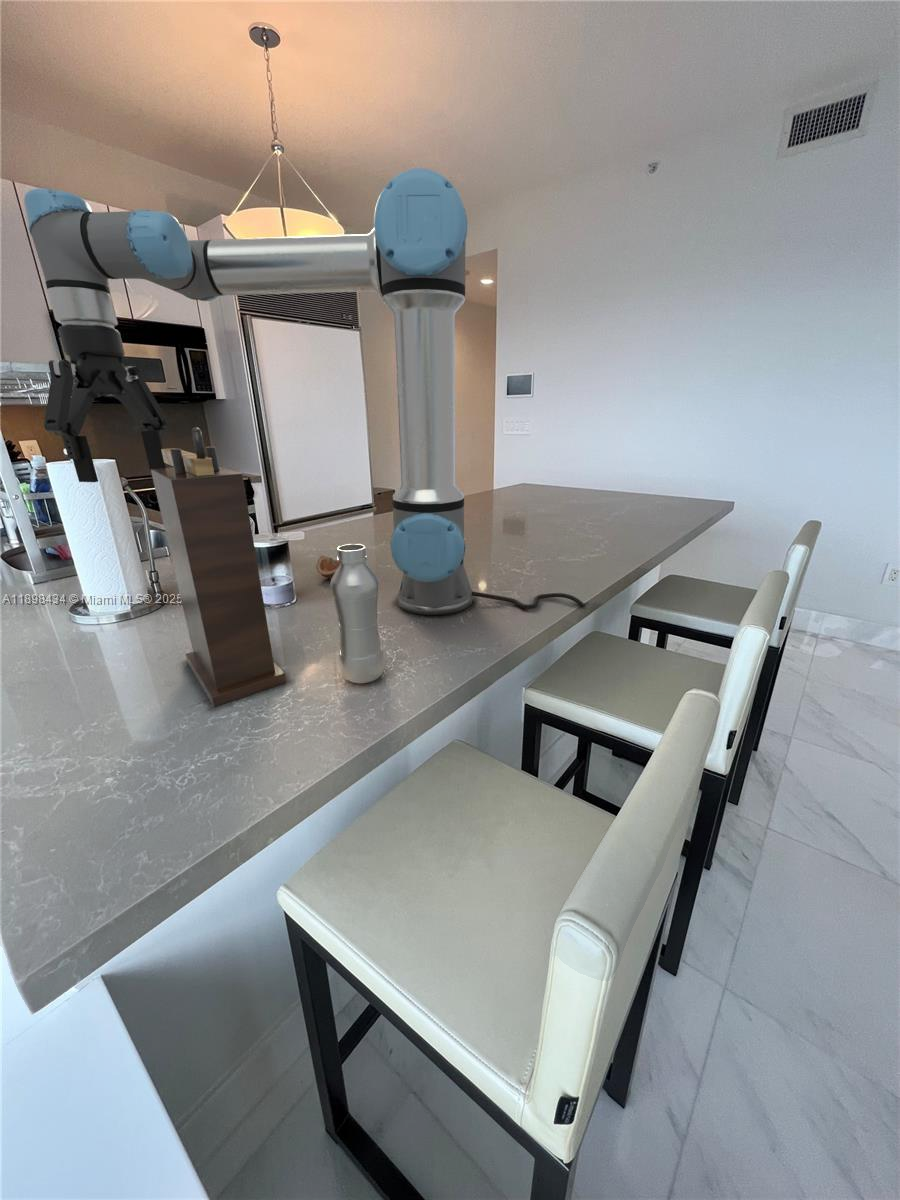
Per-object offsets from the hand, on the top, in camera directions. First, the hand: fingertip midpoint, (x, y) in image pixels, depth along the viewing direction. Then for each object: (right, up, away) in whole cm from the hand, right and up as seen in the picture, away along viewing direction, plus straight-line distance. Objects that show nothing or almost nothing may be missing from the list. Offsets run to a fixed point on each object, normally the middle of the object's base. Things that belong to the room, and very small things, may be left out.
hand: (126, 476), depth 79 cm
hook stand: (+20, -31, -4) cm, 37 cm away
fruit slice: (+25, -15, +36) cm, 46 cm away
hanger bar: (+16, -2, -12) cm, 21 cm away
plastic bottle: (+40, -32, -6) cm, 51 cm away
